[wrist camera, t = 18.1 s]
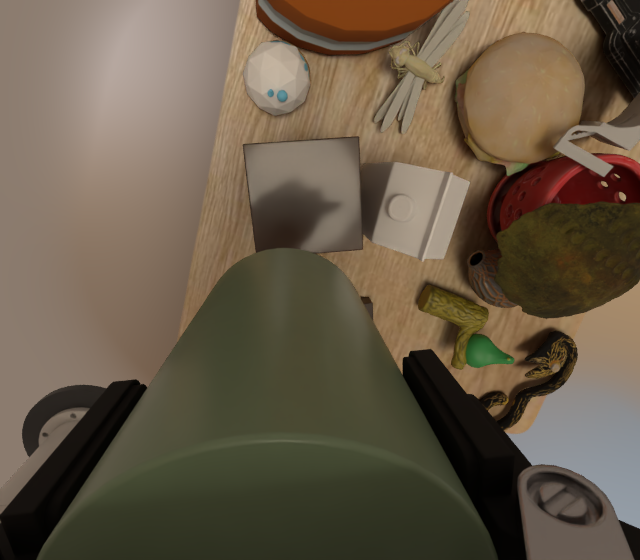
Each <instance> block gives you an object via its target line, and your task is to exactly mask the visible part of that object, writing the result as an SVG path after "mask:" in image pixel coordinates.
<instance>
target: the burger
mask: <svg viewBox="0 0 640 560" xmlns="http://www.w3.org/2000/svg"><path fill="white" fill-rule="evenodd" d="M584 91H585V85H584V76H583V73H582V71H581V68H580V65H579V63H578V61H577V60H576V59H575V58H574V56H573V55H572V54H571V53H570V51H569V50H568V49H567V48H565V47H564V46H563V45H562V44H561V43H559V42H558V41H556V40H555V39H552V38H550V37H548V36H544V35H541V34H535V33H525V32H522V33H518V34H513V35H510V36H507V37H505V38H503V39H502V40H500V41H497V42H496V43H494V44H493V45H491V46H490V47H488V48H487V49H486V50H485V51H484V52H483V54H482V55H481V56H480V57H479V58H478V59H477V60H476V61H475V62H474V63H473V65H472V66H471V67H470V69H468V70H467V71H466V72H465V73H464V74H463V75H461V76H460V77H459V78H458V79H457V80H456V93H455V101H456V102H457V108H458V118H459V121H460V123H461V126H462V129H463V132H464V135H465V137H466V138H465V139H464V141H465V142H466V143H467V144H468V146H469V147H470V148H471V149H472V151H473V152H474V154H475V155H476V157H477V159H478V160H480V161H488V162H490V163H494V164H500V165H505V167H506V170H507V176H509V175H511V174H514V173H516V172H519V171H522V170H523V169H524V168H526V167H527V166H528V165H529V164H531V163H535V162H539V161H541V160H543V159H547V158H553V157H555V156H557V155H559V154H560V152H559V151H557V150H556V149H554V147H553V146H554V145H555V144H556V143H557V141H558V140H559V139H560V138H561V137H562V138H563V135H564V134H565V133H566V132H567V130H568V129H570V128H571V127H573V126H576V125H579V121H580V116H581V111H582V105H583V96H584ZM575 133H576V131H575V132H573V133H572V134H571V135H573V134H575ZM568 141H569V142H570V141H571V140H568Z"/></svg>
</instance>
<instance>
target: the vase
mask: <svg viewBox="0 0 640 560" xmlns="http://www.w3.org/2000/svg"><path fill="white" fill-rule="evenodd" d="M501 257H502V255H501V251H500V249H493V250H487V251H483V250H477V251H475V252H473V253H472V254H471V255H470V256H469V258H468V260H467V264H468V267H469V282H470V285H471V287H472V289H473V290H474V292H475V293H476V294H477V295H478V297H480V298H481V299H482V300H483V301H485V302H487V303H488V304H490V305H493V306H496V307H501V308H510V307H514V306H517V304H514V303H512V302H509V300H508V299H507V298H506V297H505V295H504V294H503V292H502V289H501V287H500V286H499V285H498V284H497V283H495V281H494V277H495V275H496V273H497V271H498V265H497V261H498V259H499V258H501Z"/></svg>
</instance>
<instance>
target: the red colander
mask: <svg viewBox="0 0 640 560" xmlns="http://www.w3.org/2000/svg"><path fill="white" fill-rule="evenodd" d="M591 154H592V155H594V156H596V157H597V158H599V159H601V160H603V161H604V162H606V163H608V164H612V166H613V168H612V169H611V170H610V171H609V172H608V173H607V174H606V175H605V177H603V176H601V175H600V174H598V173H596V172H594V171H593V170H591V169H589V168H587V167H586V166H584V165H582V164H580V163H579V162H577V161H575V160H573V159H572V158H570V157H568V156H564V157H560V158H556V159H553V160H549V161H539V162H535V163H531V164H529V165H528V166H527V167H526V168H524V169H523V170H522V171H519V172H516V173H514V174H511V175H509V176H507V174H506V175H505V176H504V177H503V178H502V179H501V180H500V182H499V183H498V185H497V186H496V188H495V189H494V191H493V193H492V195H491V198H490V201H489V204H488V210H487V222H488V227H489V230H490V232H491V234H492V236H493V238H494V239H495V240H496V241H497V239H496V235H497V233H498V232H501V231H503V230H505V229H507V228H508V227H509V226H510V225H511V224H512V222H513V221H514V220H517V219H519V218H520V217H521V216H522V215H524V214H525V213H527V212H532V211H533V210H535V209H537V208H539V207H541V206H543V205H545V204H548V203H559V204H581V205H585V204H588V203H596V202H600V201H603V202H608V203H619V204H622V205H623V204H628V203H640V164H639V163H638V162H636V161H635V160H633V159H631V158H628V157H626V156H622V155H617V154H603V153H591ZM614 174H617V175H619V176H620V178H617V177H616V176H615V175H614ZM601 181H604V182H606V183H607V185H608V187H604V186H603V185H602V184H601ZM619 192H623V193H624V194H625V195H626V200H625V201H622V200H621V199H620V197H619ZM497 243H498V241H497Z"/></svg>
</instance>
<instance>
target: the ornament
mask: <svg viewBox="0 0 640 560" xmlns="http://www.w3.org/2000/svg"><path fill="white" fill-rule="evenodd" d="M243 77H244V81H245V86H246V91H247V94H248V95H249V96H250V98H251V99H252V100H253V101H254V102H255V104H256V105H257V106H258V107H259V108H260V109H262V110H264V111H266V112H268V113H270V114H272V115H274V116H276V115H280V114H285V113H289V112H292V111H293V110H294V109H295V108H297V107H298V106H299V105H301V104H302V103H303V102H305V99H306V96H307V93H308V90H309V87H310V70H309V66H308V63H307V61H306V59H305V57H304V56H303V54H302V53H301V52H300V50H299V49H297V47H295V46H294V45H293V44H291V43H288V42H286V41H281V40H274V41H269V42H261V44H260V45H259V46H258V47H257V48H256V49H255V50H254V51H253V52H252V53H251V54H250V55H249V57H248V60H247V63H246V66H245V69H244V72H243Z"/></svg>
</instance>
